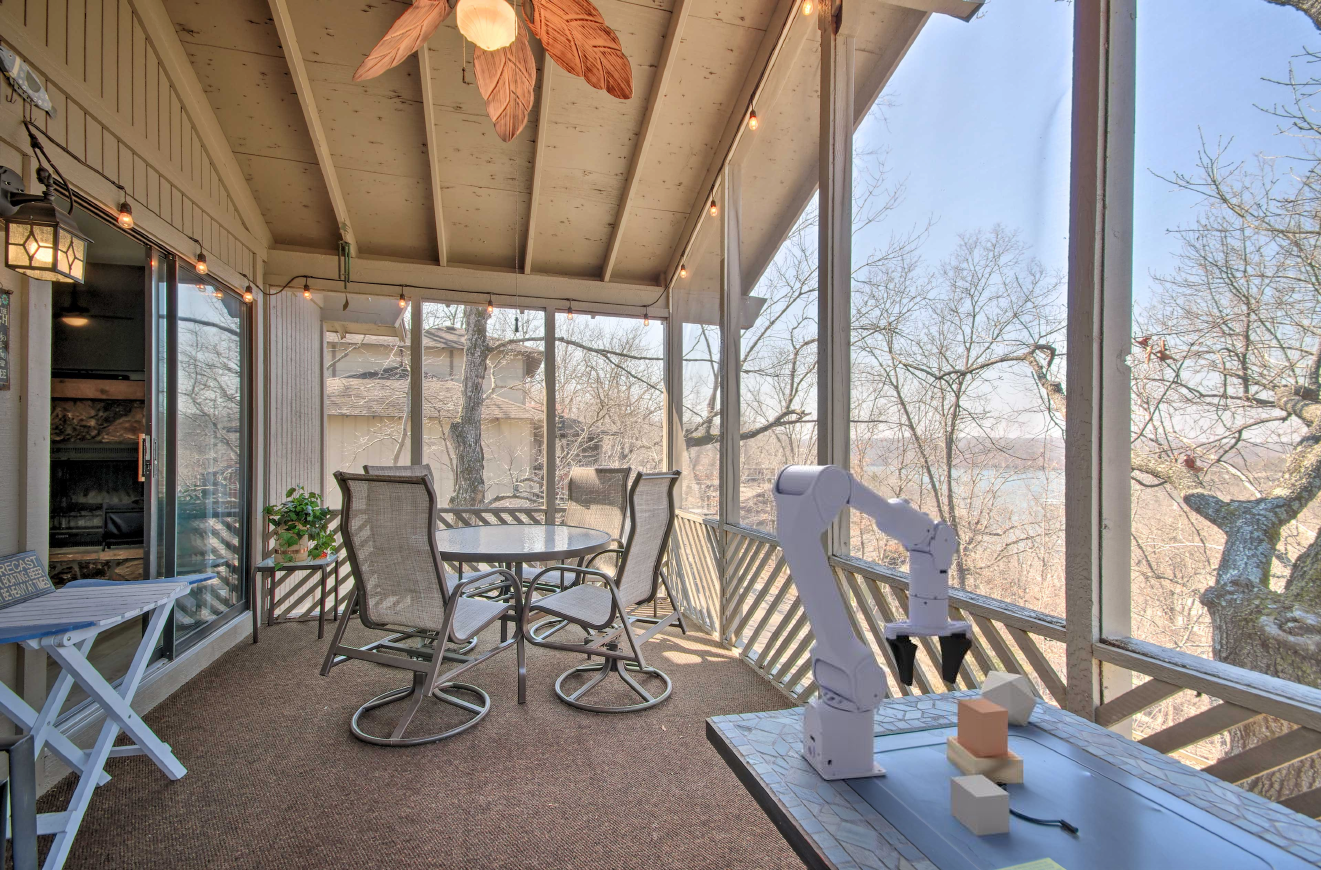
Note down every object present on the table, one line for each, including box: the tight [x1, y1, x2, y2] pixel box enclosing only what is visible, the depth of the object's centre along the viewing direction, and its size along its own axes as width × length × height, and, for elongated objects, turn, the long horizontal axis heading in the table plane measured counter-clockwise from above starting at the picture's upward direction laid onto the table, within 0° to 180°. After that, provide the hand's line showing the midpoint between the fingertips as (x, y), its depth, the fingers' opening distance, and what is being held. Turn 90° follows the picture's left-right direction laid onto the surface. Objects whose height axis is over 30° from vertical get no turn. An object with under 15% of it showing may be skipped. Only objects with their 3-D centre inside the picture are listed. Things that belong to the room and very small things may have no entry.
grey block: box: [950, 775, 1010, 837], centre depth 73 cm, size 4×4×4 cm
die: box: [978, 670, 1038, 727], centre depth 103 cm, size 8×9×10 cm
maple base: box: [946, 736, 1024, 784], centre depth 86 cm, size 7×7×4 cm
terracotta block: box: [957, 697, 1009, 757], centre depth 86 cm, size 4×4×6 cm
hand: (927, 682), depth 94 cm, fingers open, 7 cm apart
